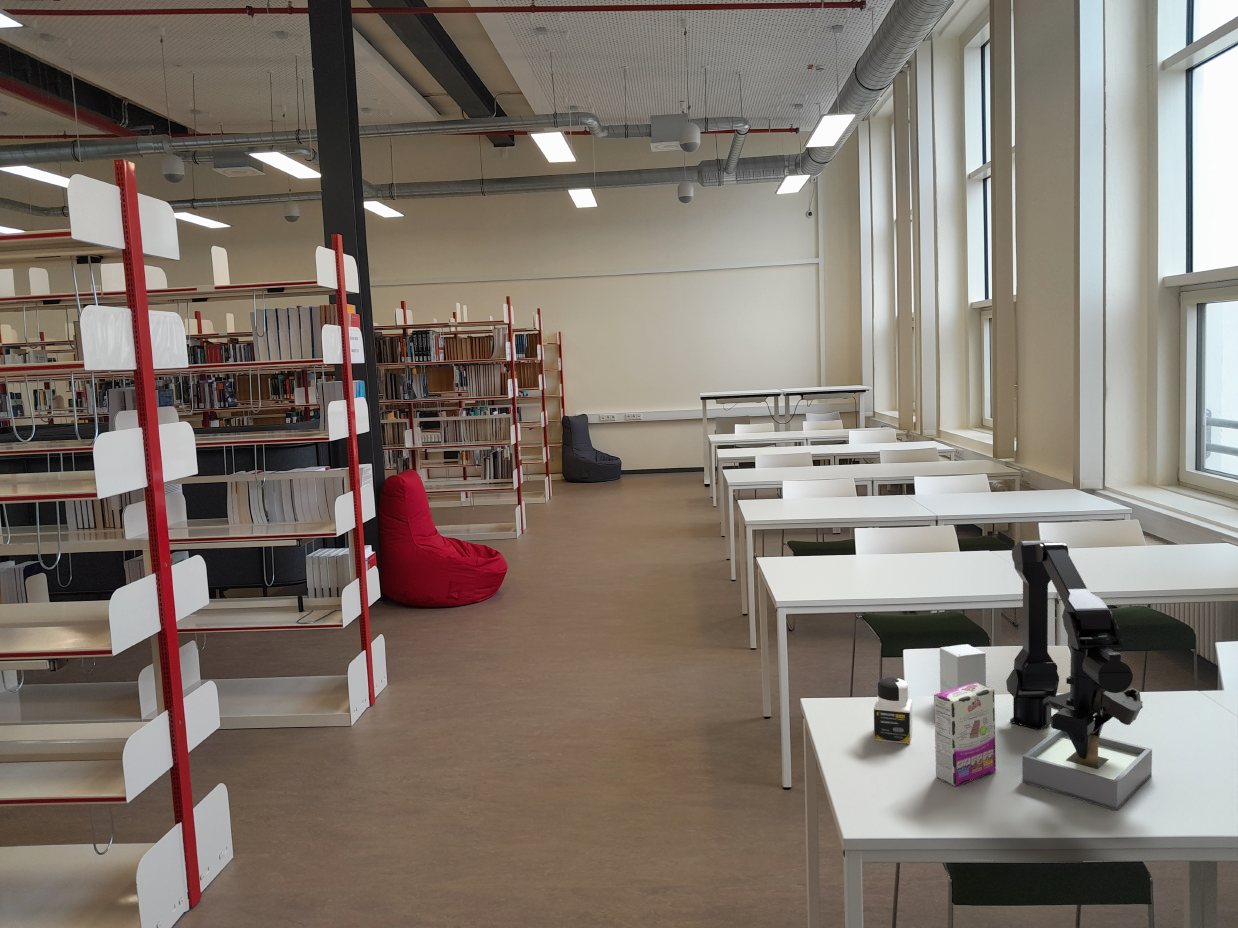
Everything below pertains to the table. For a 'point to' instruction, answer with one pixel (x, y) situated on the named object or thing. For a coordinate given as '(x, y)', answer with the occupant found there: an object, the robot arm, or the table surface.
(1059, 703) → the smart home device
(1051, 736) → the box
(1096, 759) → the peg
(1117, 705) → the robot arm
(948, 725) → the candy bar box
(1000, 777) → the table surface
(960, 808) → the table surface
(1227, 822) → the table surface
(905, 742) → the medicine bottle
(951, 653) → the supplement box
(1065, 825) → the table surface
